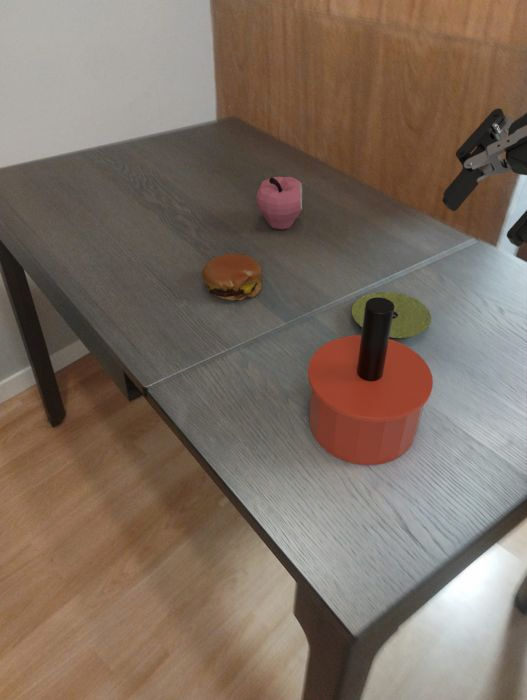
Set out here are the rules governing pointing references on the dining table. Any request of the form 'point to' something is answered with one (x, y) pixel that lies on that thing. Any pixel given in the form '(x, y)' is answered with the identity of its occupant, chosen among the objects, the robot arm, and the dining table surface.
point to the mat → (398, 314)
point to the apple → (280, 201)
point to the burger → (232, 277)
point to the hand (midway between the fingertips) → (478, 223)
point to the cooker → (361, 435)
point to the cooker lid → (371, 371)
